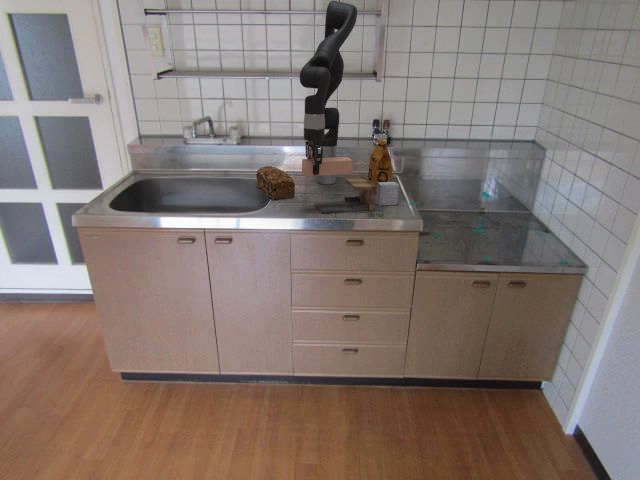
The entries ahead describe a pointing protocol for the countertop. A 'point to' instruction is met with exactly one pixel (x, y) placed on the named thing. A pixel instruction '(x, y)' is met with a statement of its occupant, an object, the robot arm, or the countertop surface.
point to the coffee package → (380, 164)
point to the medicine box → (387, 193)
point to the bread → (275, 183)
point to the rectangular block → (328, 166)
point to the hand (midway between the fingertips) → (313, 172)
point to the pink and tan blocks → (353, 198)
